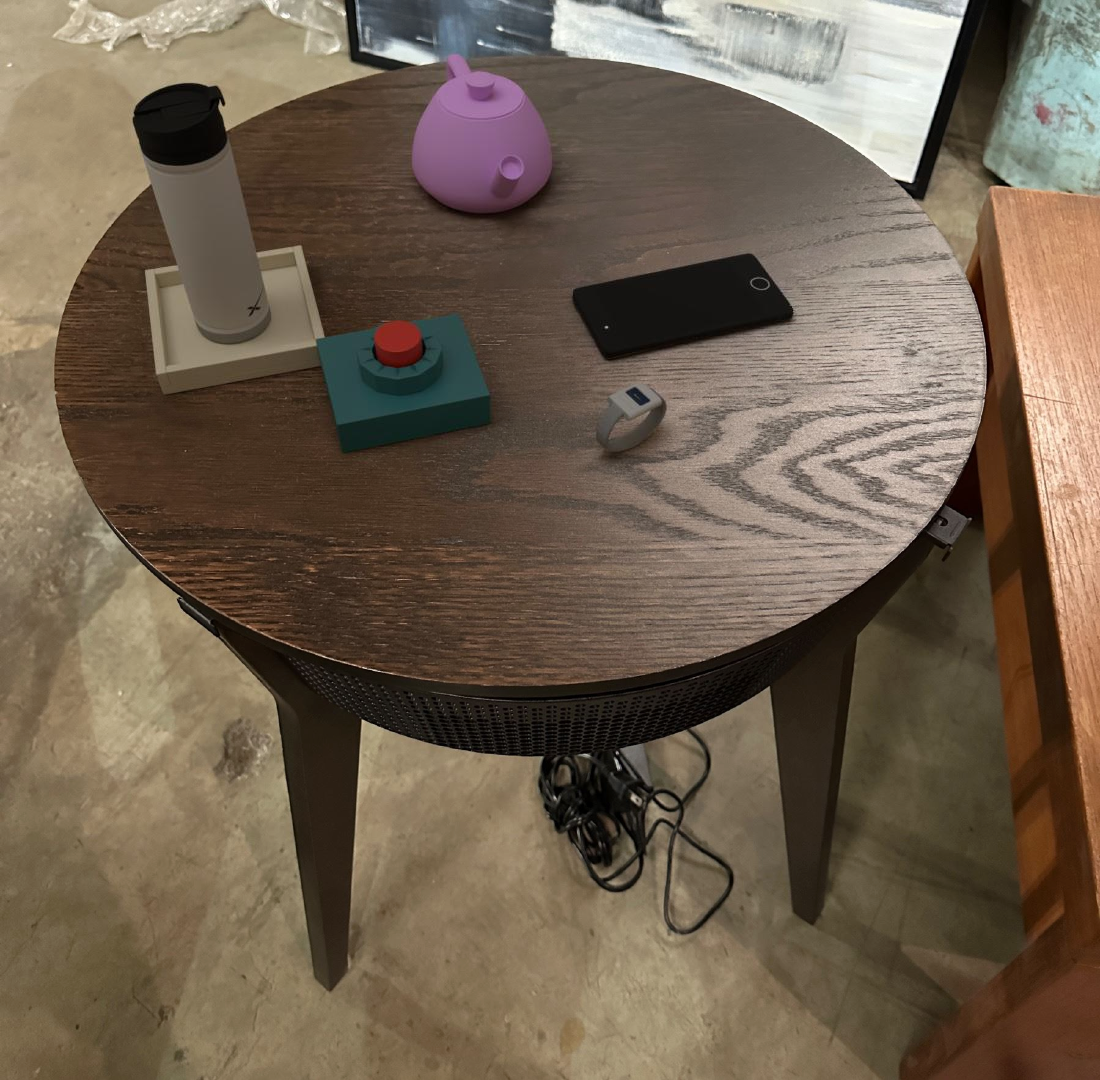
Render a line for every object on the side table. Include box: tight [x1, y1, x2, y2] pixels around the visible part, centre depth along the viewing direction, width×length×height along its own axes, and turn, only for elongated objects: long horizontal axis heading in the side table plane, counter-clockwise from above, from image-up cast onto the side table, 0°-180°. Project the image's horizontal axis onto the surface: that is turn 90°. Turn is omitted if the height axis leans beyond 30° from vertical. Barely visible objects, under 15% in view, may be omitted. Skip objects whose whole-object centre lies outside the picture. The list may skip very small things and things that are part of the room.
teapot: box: [411, 53, 553, 214], centre depth 98 cm, size 14×20×11 cm
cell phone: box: [572, 252, 795, 360], centre depth 91 cm, size 9×18×1 cm, turn 109°
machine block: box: [316, 313, 492, 454], centre depth 82 cm, size 12×10×5 cm
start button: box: [374, 320, 423, 368], centre depth 80 cm, size 4×4×2 cm
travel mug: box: [132, 82, 271, 343], centre depth 80 cm, size 6×7×20 cm
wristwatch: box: [595, 380, 668, 453], centre depth 80 cm, size 6×3×5 cm, turn 126°
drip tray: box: [144, 245, 326, 396], centre depth 88 cm, size 14×14×2 cm
